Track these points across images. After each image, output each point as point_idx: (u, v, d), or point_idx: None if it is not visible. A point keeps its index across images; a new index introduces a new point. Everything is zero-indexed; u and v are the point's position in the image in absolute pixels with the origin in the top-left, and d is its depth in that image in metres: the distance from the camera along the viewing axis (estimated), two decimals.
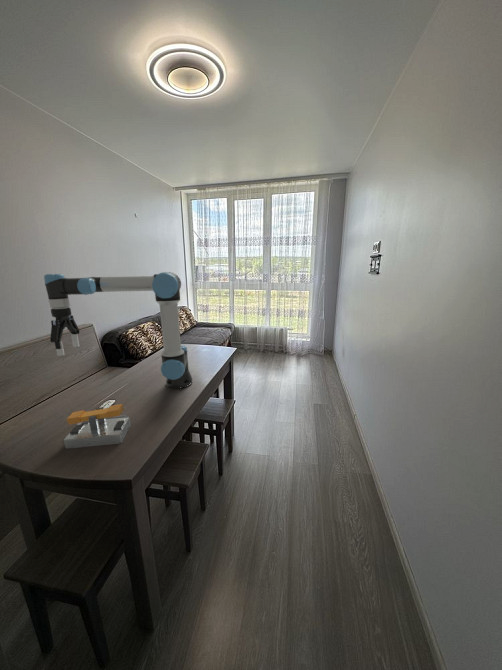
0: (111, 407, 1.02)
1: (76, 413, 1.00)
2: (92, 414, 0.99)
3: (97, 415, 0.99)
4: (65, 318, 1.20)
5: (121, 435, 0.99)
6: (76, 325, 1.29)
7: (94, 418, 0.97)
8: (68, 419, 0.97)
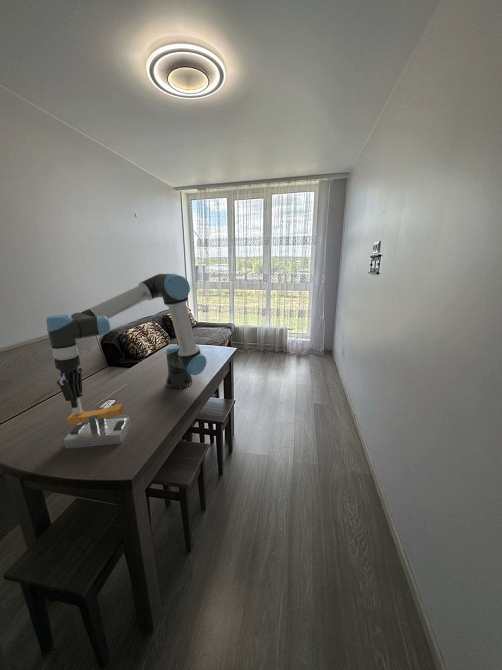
0: (111, 407, 1.02)
1: None
2: (92, 414, 0.99)
3: (97, 415, 0.99)
4: (72, 369, 0.95)
5: (121, 435, 0.99)
6: (81, 383, 1.01)
7: (94, 418, 0.97)
8: (68, 419, 0.97)
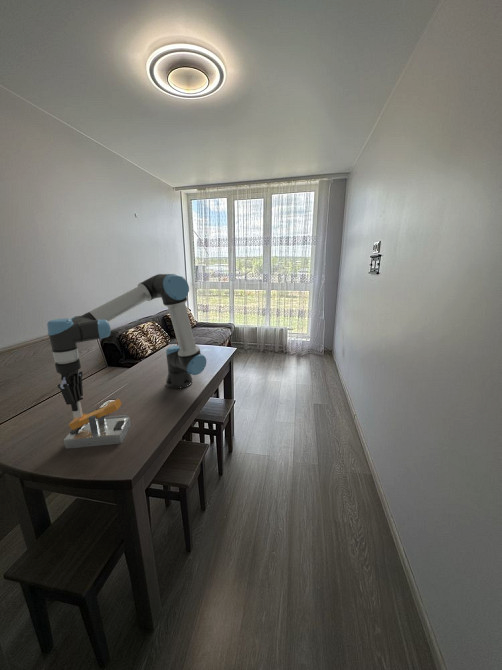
0: (108, 404, 1.01)
1: (77, 418, 1.01)
2: (92, 415, 0.99)
3: (96, 414, 0.99)
4: (73, 373, 0.96)
5: (121, 435, 0.99)
6: None
7: (94, 418, 0.97)
8: (70, 425, 0.98)
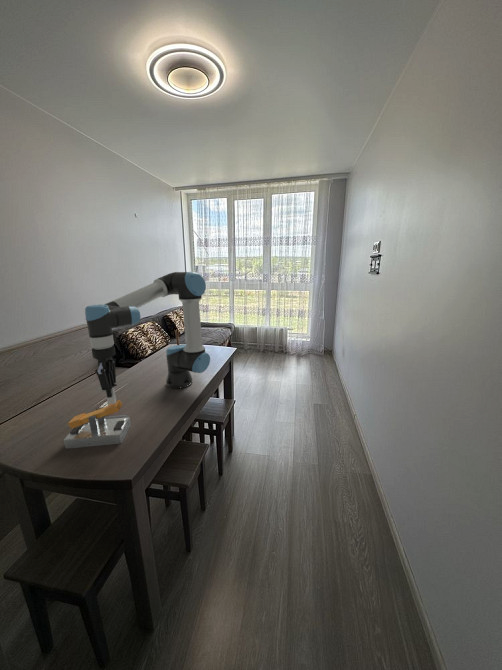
0: (109, 405, 1.01)
1: (77, 417, 1.01)
2: (92, 414, 0.99)
3: (96, 414, 0.99)
4: (108, 359, 0.96)
5: (121, 435, 0.99)
6: (115, 373, 1.02)
7: (94, 418, 0.97)
8: (69, 423, 0.98)
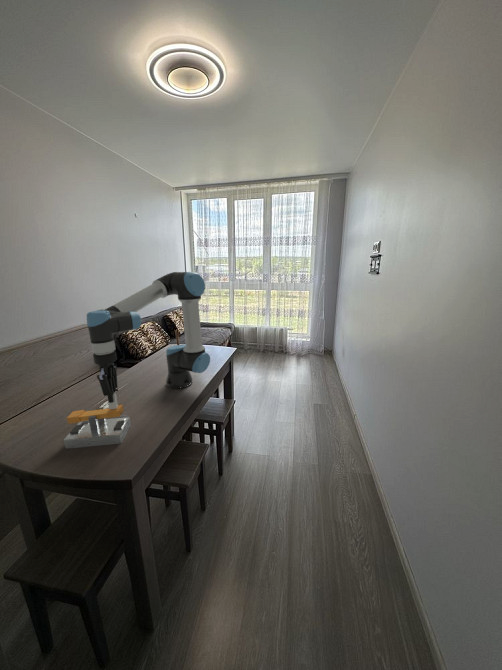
0: None
1: (76, 412, 1.00)
2: (92, 414, 0.99)
3: (97, 415, 0.99)
4: (109, 364, 0.97)
5: (121, 435, 0.99)
6: (116, 378, 1.02)
7: (94, 418, 0.97)
8: (68, 418, 0.97)
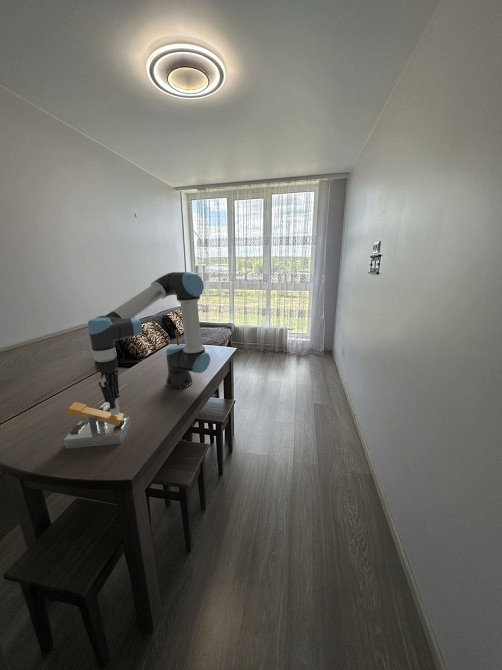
0: None
1: (78, 405, 0.99)
2: (93, 413, 0.99)
3: (98, 417, 0.99)
4: (111, 371, 0.97)
5: (121, 435, 0.99)
6: None
7: (94, 418, 0.97)
8: (69, 409, 0.96)
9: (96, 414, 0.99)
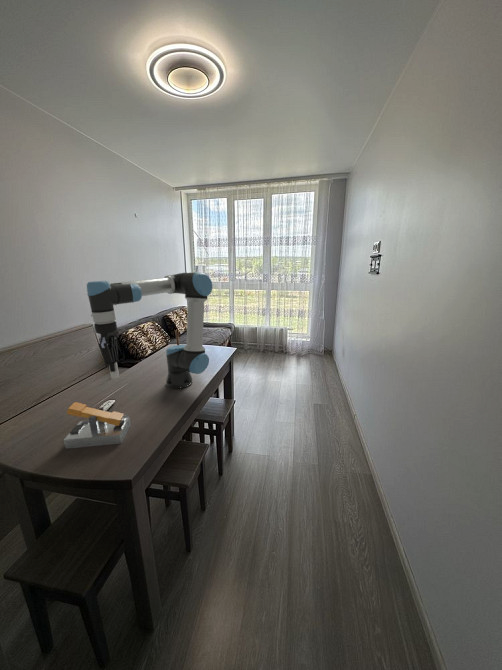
0: (113, 413, 1.02)
1: (78, 405, 0.99)
2: (93, 413, 0.99)
3: (98, 417, 0.99)
4: (110, 334, 0.99)
5: (121, 435, 0.99)
6: (117, 349, 1.05)
7: (94, 418, 0.97)
8: (69, 409, 0.96)
9: (96, 414, 0.99)
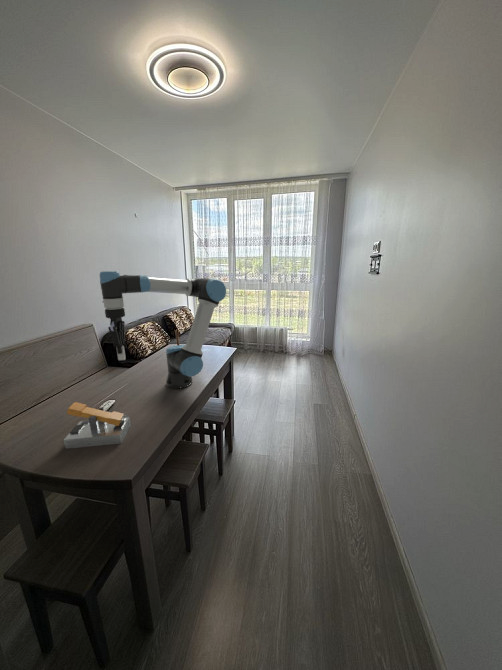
0: (113, 413, 1.02)
1: (78, 405, 0.99)
2: (93, 413, 0.99)
3: (98, 417, 0.99)
4: (119, 319, 1.10)
5: (121, 435, 0.99)
6: (124, 334, 1.16)
7: (94, 418, 0.97)
8: (69, 409, 0.96)
9: (96, 414, 0.99)
